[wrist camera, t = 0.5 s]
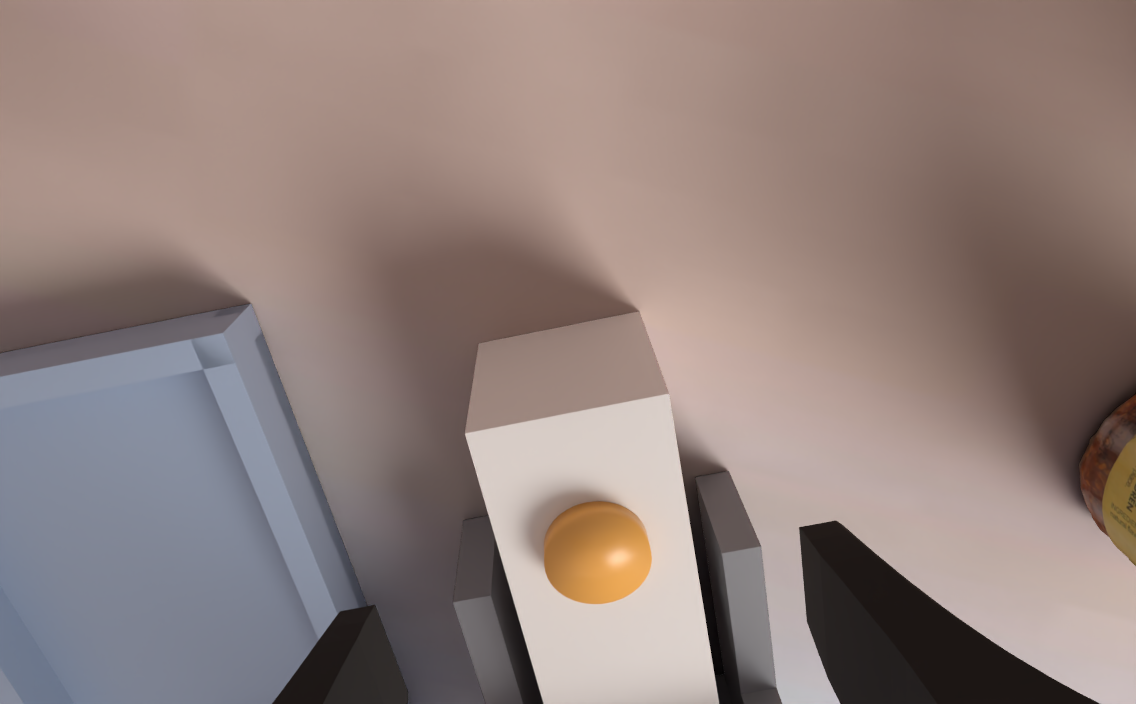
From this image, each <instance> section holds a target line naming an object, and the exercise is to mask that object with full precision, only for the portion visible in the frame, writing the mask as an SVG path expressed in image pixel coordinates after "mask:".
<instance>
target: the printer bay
mask: <svg viewBox="0 0 1136 704" xmlns="http://www.w3.org/2000/svg"><path fill="white" fill-rule="evenodd" d="M695 479H696V486H697V493H698V500H699V507H700V514H701V520H702V527H703V534H704V541H705V548H706V555H707V562H708V568H709V575H710V582H711V589H712V596H713V603H714V610H715V616H716V623H717V630H718V637H719V644H720V651H721V658H722V664H723V671H724V674H722V675H716V676H715V681H716V687H717V693H718V700H719V704H782V702H781V699H780V696H779V694H778V691H777V688H776V679H775V669H774V660H773V651H772V642H771V633H770V623H769V614H768V605H767V596H766V587H765V578H764V568H763V559H762V550H761V545H760V543H759V540H758V538H757V536H756V533H755V531H754V529H753V526H752V524H751V522H750V519H749V517H748V515H747V512H746V510H745V508H744V505H743V503H742V501H741V498H740V496H739V494H738V491H737V489H736V487H735V484H734V482H733V480H732V477H731V475H730V473H729V471H726V472H721V473H715V474H710V475H705V476H699V477H695ZM453 605H454V608H455V611H456V614H457V617H458V620H459V623H460V626H461V629H462V633H463V636H464V639H465V642H466V645H467V648H468V651H469V654H470V657H471V660H472V663H473V666H474V669H475V673H476V676H477V679H478V682H479V685H480V688H481V691H482V694H483V697H484V700H485V703H486V704H544V703H543V700H542V697H541V693H540V690H539V686H538V683H537V679H536V676H535V673H534V669H533V666H532V662H531V659H530V655H529V652H528V649H527V645H526V642H525V638H524V635H523V631H522V628H521V625H520V621H519V618H518V614H517V611H516V607H515V604H514V601H513V597H512V594H511V590H510V587H509V583H508V580H507V577H506V573H505V570H504V566H503V563H502V559H501V556H500V553H499V549H498V546H497V542H496V539H495V535H494V532H493V529H492V525H491V522H490V518H489V516H484V517H479V518H473V519H468V520H463V528H462V535H461V543H460V551H459V558H458V566H457V574H456V581H455V589H454V597H453Z"/></svg>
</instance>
